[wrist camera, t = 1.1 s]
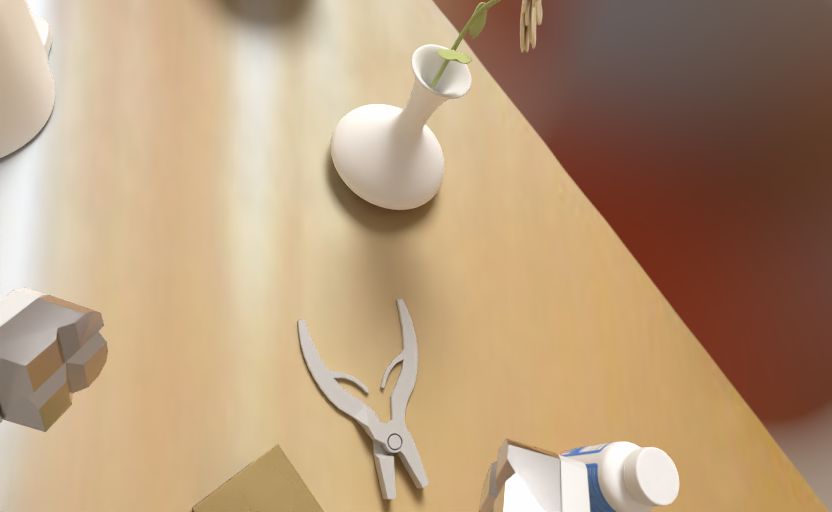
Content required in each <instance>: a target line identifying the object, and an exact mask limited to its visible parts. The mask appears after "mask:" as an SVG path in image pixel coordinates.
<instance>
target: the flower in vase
mask: <svg viewBox="0 0 832 512" xmlns="http://www.w3.org/2000/svg"><path fill="white" fill-rule="evenodd" d="M499 1H501V0H491V1H489V2H488V3H483V2H481V3H480V4H478V6H477V7H476V10H475V12H474V14H473V16H472V17H471V19H470V20H469V21H468V23H467V24H466V26H465V27H464V29H463V30H462V32H461V33H460V35H459V37H458V38H457V40H456V42H455V43H454V45H453V47H452V48H451V50H449V49H447V48H445V47H442V46H438V45H424V46H422V47H420V48H418V49H417V50H416V51H415V52H414V54H413V57H412V69H413V72H414V75H415V82H414V86H413V90H412V92H411V95H410V98H409V100H408V101H407V103H406V105H405V107H404V108H403V109H400V108H398V107H394V106H390V105H383V104H371V105H365V106H361V107H359V108H356V109H355V110H353V111H351V112H350V113H348V114H347V115H345V116H344V117H343V118H342V119H341V120H340V121H339V122H338V123H337V125H336V127H335V128H334V131H333V133H332V137H331V146H330V148H331V156H332V160H333V163H334V166H335V168H336V170H337V172H338V174H339V175H340V177H341V178H342V180H343V181H344V182H345V184H346V185H347V186H348V187H349V188H350V189H351V190H352V191H353V192H354V193H355V194H357V195H358V196H359V197H361V198H362V199H364V200H366V201H367V202H369V203H372V204H374V205H376V206H379V207H383V208H387V209H393V210H407V209H412V208H416V207H419V206H421V205H423V204H425V203H427V202H428V201H429V200H431V199H432V198H433V197H434V196H435V195H436V193H437V192H438V190H439V188H440V186H441V184H442V180H443V175H444V157H443V153H442V150H441V147H440V145H439V143H438V141H437V139H436V137H435V136H434V134H433V133H432V132H431V130H430V129H429V128H428V127H427V126H426V125H425V123H426V121H427V120H428V118H429V117H430V116H431V114H432V113H433V112H434V111H435V110H436V109H437V108H438V106H440V105H441V104H442V103H443V102H444V101H446V100H448V99H456V98H459V97H462V96H464V95H465V94H466V93H467V92H468V91H469V90H470V87H471V83H472V79H471V74H470V71H469V69H468V67H467V65H466V64H467V63H470V62H471V61H472V59H471V57H469V56H468V55H466V54H463V53H461V52H458V51H455V50H456V49H457V47H458V45H459V44H460V42H461V40H462V38H463V37H464V35H465V33H466V32H467V30H468V29H469V32H470V35H471V37H472V38H476V37H477V36H478V35H479V34H480V32H481V31H482V29H483V27H484V25H485V21H486V14H487V10H488V8H489V7H491V6H492V5H494V4H496V3H497V2H499ZM541 21H542V6H541V0H523V1H522V9H521V18H520V45H521V52H523V51H524V49H526V52H528V50H529V40H530V42H531V43H532V47H533V48H535V45H536V22H537V24H538V25H540V24H541Z"/></svg>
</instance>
